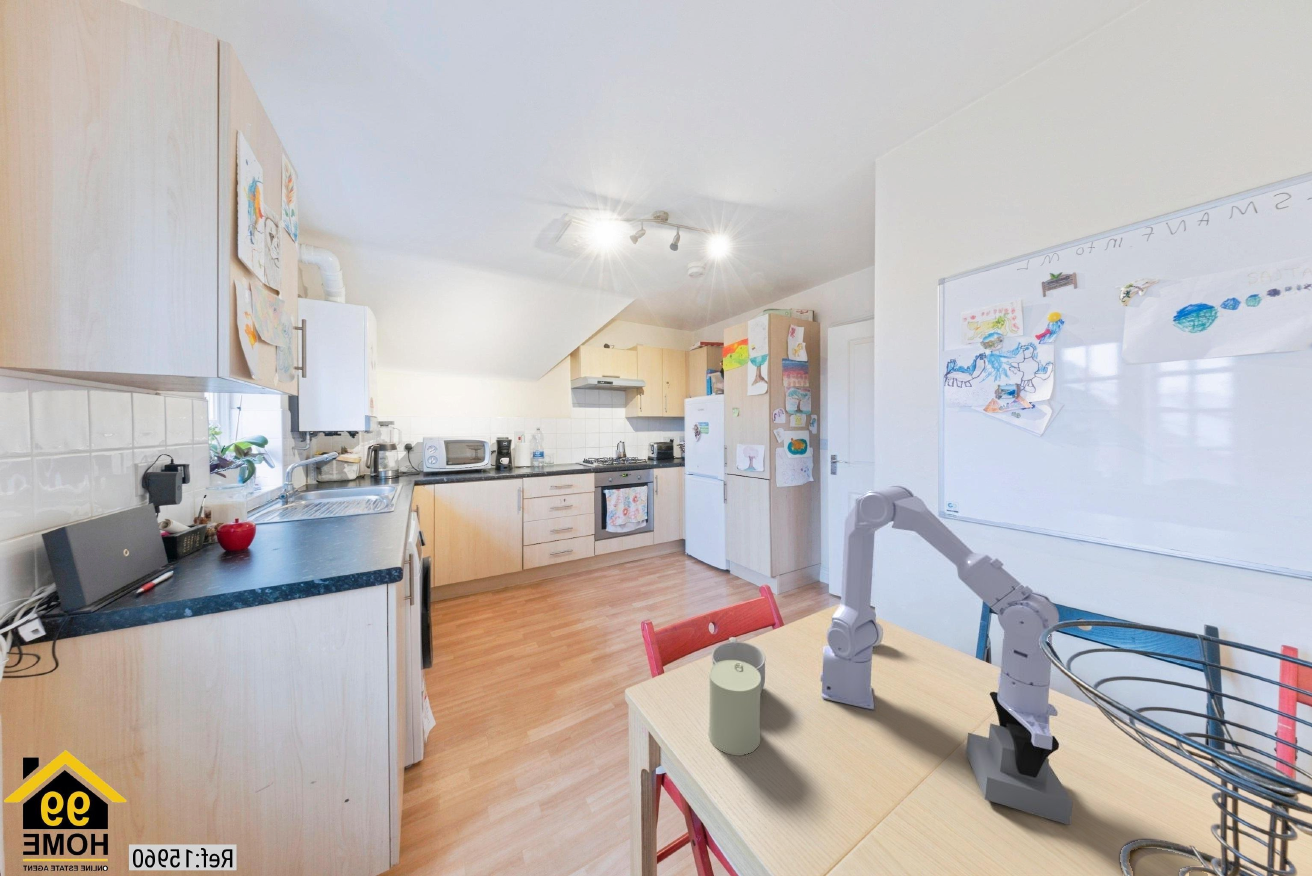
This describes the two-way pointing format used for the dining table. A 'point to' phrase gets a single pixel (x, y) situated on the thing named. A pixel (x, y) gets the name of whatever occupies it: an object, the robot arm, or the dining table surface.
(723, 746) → the can
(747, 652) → the teacup
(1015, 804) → the low gray platform
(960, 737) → the dining table surface
